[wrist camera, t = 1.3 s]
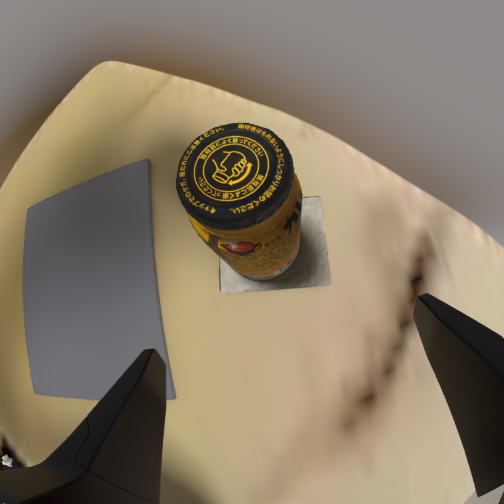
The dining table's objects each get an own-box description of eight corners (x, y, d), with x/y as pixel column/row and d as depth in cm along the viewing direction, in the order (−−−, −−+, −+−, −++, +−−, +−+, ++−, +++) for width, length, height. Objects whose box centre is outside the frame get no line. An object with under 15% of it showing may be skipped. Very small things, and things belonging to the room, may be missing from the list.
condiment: (219, 207, 25) (164, 119, 13) (320, 197, 24) (336, 97, 12) (221, 293, 23) (152, 261, 11) (330, 285, 22) (369, 243, 10)
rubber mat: (176, 398, 21) (173, 399, 21) (37, 393, 23) (34, 393, 22) (149, 161, 27) (147, 158, 26) (30, 210, 29) (27, 208, 28)
